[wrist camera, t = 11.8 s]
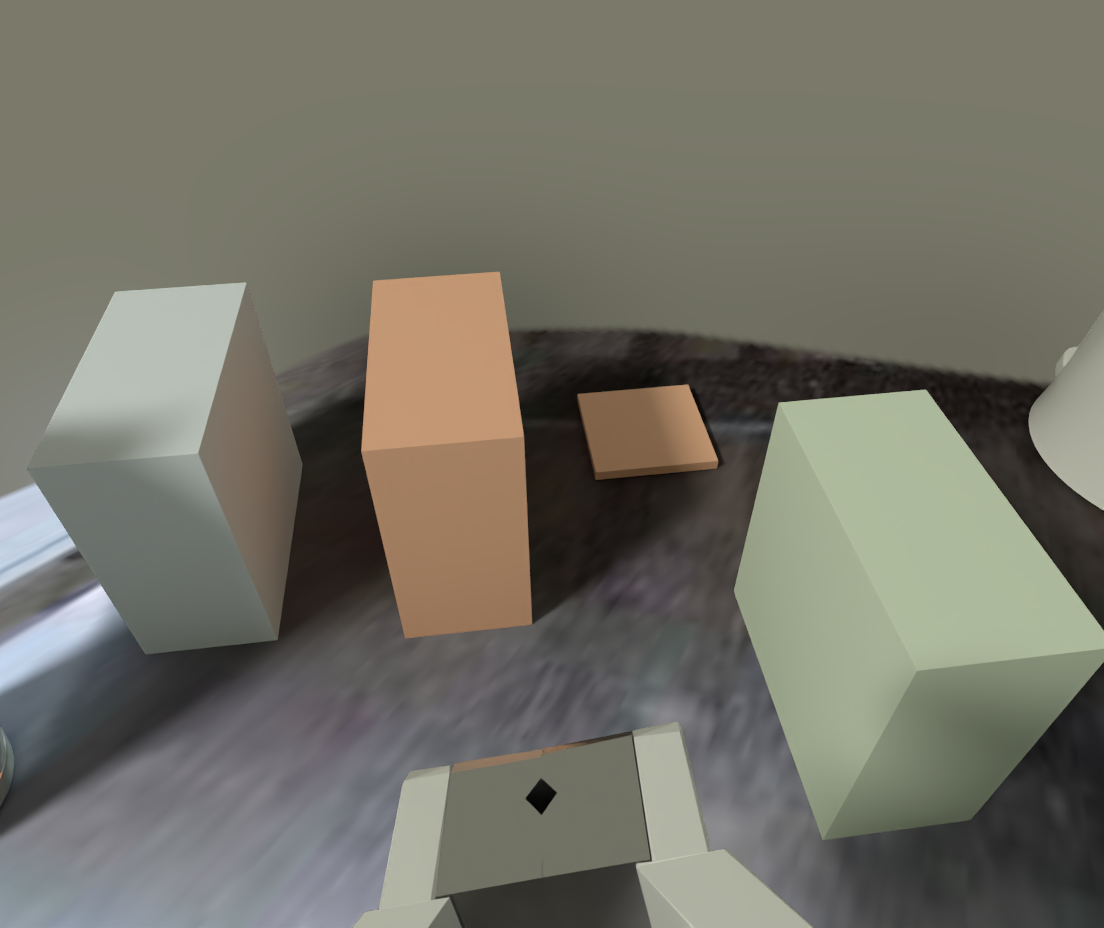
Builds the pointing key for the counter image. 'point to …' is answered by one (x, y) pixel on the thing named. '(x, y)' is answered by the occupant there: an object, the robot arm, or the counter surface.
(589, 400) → the tile
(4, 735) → the water bottle
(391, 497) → the terracotta block
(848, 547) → the sage block
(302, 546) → the counter surface
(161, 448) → the blue-grey block
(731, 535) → the counter surface
